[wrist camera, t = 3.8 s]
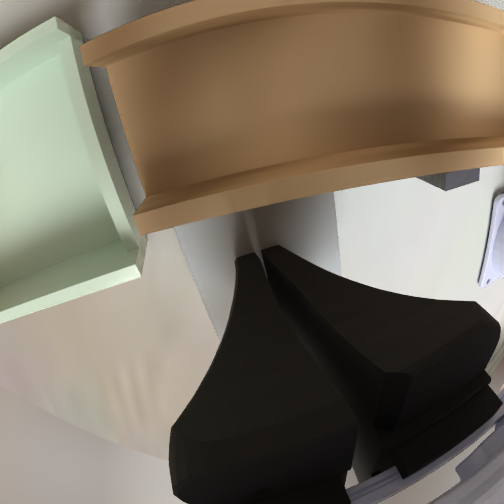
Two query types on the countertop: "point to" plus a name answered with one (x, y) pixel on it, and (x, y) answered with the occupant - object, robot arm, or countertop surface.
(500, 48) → the lever
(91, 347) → the countertop surface
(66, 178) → the dish
